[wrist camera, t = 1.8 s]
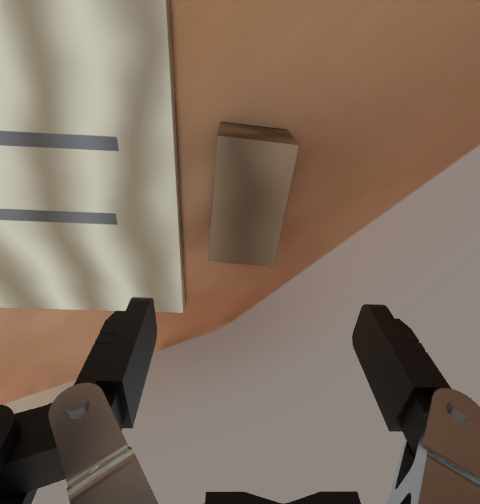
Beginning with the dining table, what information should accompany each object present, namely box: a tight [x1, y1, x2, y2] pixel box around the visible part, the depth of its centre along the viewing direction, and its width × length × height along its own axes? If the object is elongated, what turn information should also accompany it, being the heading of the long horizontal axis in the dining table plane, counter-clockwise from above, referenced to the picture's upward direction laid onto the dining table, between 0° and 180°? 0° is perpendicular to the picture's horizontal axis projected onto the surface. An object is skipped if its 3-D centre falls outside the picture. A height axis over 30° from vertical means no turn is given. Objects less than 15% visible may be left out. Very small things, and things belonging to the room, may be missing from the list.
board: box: [0, 0, 185, 313], centre depth 24 cm, size 18×26×2 cm
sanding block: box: [208, 122, 299, 267], centre depth 23 cm, size 5×9×5 cm, turn 173°
